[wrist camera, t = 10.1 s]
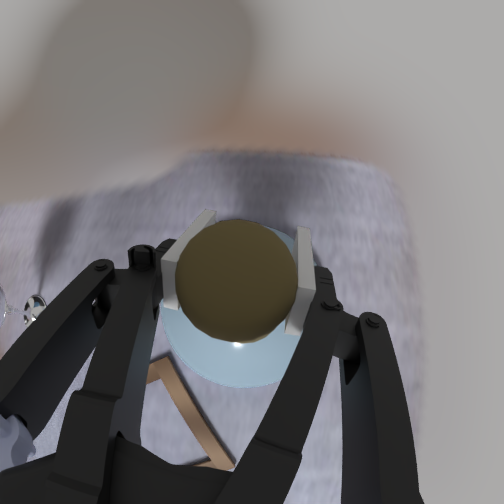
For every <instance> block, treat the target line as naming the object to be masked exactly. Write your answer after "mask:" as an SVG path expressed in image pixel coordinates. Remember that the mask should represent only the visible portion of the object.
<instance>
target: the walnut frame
mask: <svg viewBox="0 0 504 504" xmlns="http://www.w3.org/2000/svg"><path fill="white" fill-rule="evenodd" d="M160 378H161V379H162V381H163V383H164V385H165V387H166V389H167V391H168V392H169V394H170V396H171V398H172V400H173V401H174V403H175V405H176V406H177V408H178V410H179V412H180V413H181V415H182V417H183V418H184V420H185V421H186V423H187V425H188V426H189V428H190V429H191V431H192V433H193V434H194V436H195V437H196V439H197V440H198V442H199V443H200V445H201V446H202V448H203V449H204V451H205V452H206V453H207V455H208V456H209V458H210V459H211V460H208V461H205V462H202V463H199V464H195V465H192V466H207V467H211V468H216V469H220V470H225V471H226V470H229V469H232V468H235V464H234V463H233V461H232V460H231V458H230V457H229V456H228V454H227V453H226V451H225V450H224V449H223V447H222V446H221V444H220V443H219V441H218V440H217V438H216V437H215V435H214V434H213V432H212V431H211V429H210V427H209V426H208V424H207V423H206V421H205V420H204V418H203V416H202V415H201V413H200V411H199V410H198V408H197V406H196V405H195V403H194V401H193V400H192V398H191V396H190V394H189V393H188V391H187V389H186V387H185V386H184V384H183V382H182V380H181V378H180V376H179V375H178V373H177V371H176V369H175V367H174V365H173V363H172V361H171V359H170V357H169V356H167V357H165V358H163V359H160V360H158V361H156V362H154V363H152V364H150V365H149V369H148V375H147V381H146V384H148V383H151V382H153V381H156V380H158V379H160Z"/></svg>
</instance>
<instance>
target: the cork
mask: <svg viewBox="0 0 504 504" xmlns="http://www.w3.org/2000/svg"><path fill="white" fill-rule="evenodd" d="M297 286H298V276H297V269H296V263H295V261H294V259H293V257H292V255H291V253H290V251H289V249H288V247H287V245H286V244H285V243H284V242H283V241H282V240H281V239H280V238H279V237H278V236H277V235H276V234H275V233H274V232H273V231H272V230H270V229H268V228H266V227H264V226H262V225H260V224H259V223H256V222H251V221H246V220H240V219H236V220H227V221H220V222H218V223H215V224H213V225H210V226H208V227H206V228H204V229H202V230H201V231H200V232H199V233H198V234H196V235H195V236H194V237H193V238H192V239H190V240H189V242H188V243H187V245H186V247H185V248H184V250H183V251H182V253H181V254H180V256H179V260H178V263H177V267H176V271H175V290H176V295H177V298H178V301H179V303H180V306H181V309H182V311H183V313H184V314H185V315H186V317H187V318H188V319H189V320H190V322H191V323H192V324H193V325H194V326H195V328H197V329H199V330H200V331H202V332H203V333H205V334H207V335H208V336H210V337H212V338H215V339H219V340H223V341H227V342H236V343H240V344H244V343H254V342H257V341H259V340H261V339H263V338H266V337H267V336H268V335H269V334H270V333H271V332H272V331H274V330H275V329H276V327H277V326H278V325H279V324H280V323H281V322H283V321H284V320H285V319H286V317H287V315H288V313H289V311H290V310H291V308H292V306H293V304H294V302H295V299H296V292H297Z"/></svg>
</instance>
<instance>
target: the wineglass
mask: <svg viewBox="0 0 504 504" xmlns="http://www.w3.org/2000/svg"><path fill="white" fill-rule="evenodd" d="M45 308H46V304H45V302H44V300H43V299H42V298H41V297H39V296H36V295H35V296H32V297H30V298H29V299H28V301H27V302H26V305H25V308H24V311H23V310H18V309H16V308H14V307H12V306H11V305H9V304H7V301H6V295H5V292H4V289H3V287H2V285H1V284H0V328H1V326H2V325H3V323H4V320H5V317H6V314H8V315H11V314H22V315H24V321H25V324H26V327H27V328H28V326H29V325H30V324H31V323H32V322H33V321H34V320H35V319H36V318H37V317H38V315H39V314H40V313H41V312H42V311H43V310H44V309H45Z"/></svg>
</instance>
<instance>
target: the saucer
mask: <svg viewBox="0 0 504 504" xmlns="http://www.w3.org/2000/svg"><path fill="white" fill-rule="evenodd" d="M262 226H263V225H262ZM264 227H266V228H268V229H270V230H272V231H273V232H274V233H275V234H276V235H277V236H278V237H279V238H280V239H281V240H282V241H283V242H284V243H285V244H286V245H287V247H288V249H289V251H290V253H291V254H292V249H293V245H294V241H295V240H294V239H292V238H291V237H289V236H288V235H286V234H284V233H282V232H280V231H278V230H276V229H273V228H270V227H267V226H264ZM313 263H314V266H317V264H316V263H315V261H314V260H313ZM161 315H162V322H163V326H164V329H165V333H166V335H167V338H168V340H169V342H170V344H171V346H172V347H173V349H174V351H175V352H176V353H177V355H178V356H179V357H180V359H181V360H182V361H183V362H184V363H185V364H186V365H187V366H188V367H189V368H190V369H192V370H193V371H194V372H196V373H197V374H198V375H200V376H202V377H204V378H206V379H207V380H210V381H212V382H215V383H217V384H220V385H224V386H228V387H236V388H254V387H260V386H265V385H268V384H271V383H275V382H277V381H279V380H281V379H282V378H283V376H284V374H285V371H286V369H287V367H288V365H289V362H290V360H291V358H292V356H293V353H294V351H295V349H296V346H297V344H298V341H299V339H300V337H301V335H300V336H296V335H290V334H284V332H285V320H284V321H283V322H281V323H280V324H279V325H278V326H277V327H276V329H275V330H274V331H272V332H271V333H270V334H269V335H268V336H267V337H266V338H263V339H261V340H259V341H257V342H254V343H244V344H240V343H236V342H227V341H223V340H219V339H215V338H212V337H210V336H208V335H207V334H205V333H203V332H202V331H200V330H199V329H197V328H195V326H194V325H193V324H192V323H191V322H190V320H189V319H188V318H187V317H186V315H185V314H184V313H183V311H182V309H181V306H180V308H179V310H178V311H177V310H173V309H169V308H166V307H164V306H163V299H162V300H161ZM302 332H303V330H302ZM302 332H301V334H302Z"/></svg>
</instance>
